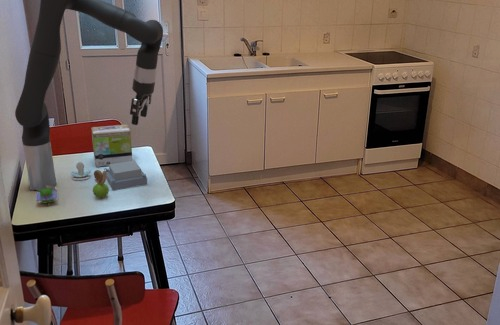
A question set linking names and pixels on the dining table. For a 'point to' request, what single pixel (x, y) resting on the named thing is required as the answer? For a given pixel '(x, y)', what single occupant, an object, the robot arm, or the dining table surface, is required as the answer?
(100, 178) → the snail figurine
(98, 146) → the tea box
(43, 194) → the geometric puzzle
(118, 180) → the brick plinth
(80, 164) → the pacifier
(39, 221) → the dining table surface
